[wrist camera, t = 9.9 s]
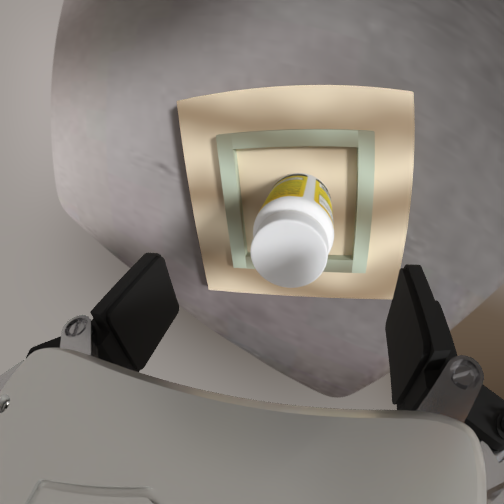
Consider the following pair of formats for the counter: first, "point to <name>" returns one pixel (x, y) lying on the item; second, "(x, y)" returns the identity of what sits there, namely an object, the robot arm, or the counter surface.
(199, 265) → the counter surface
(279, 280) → the supplement bottle
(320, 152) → the board
